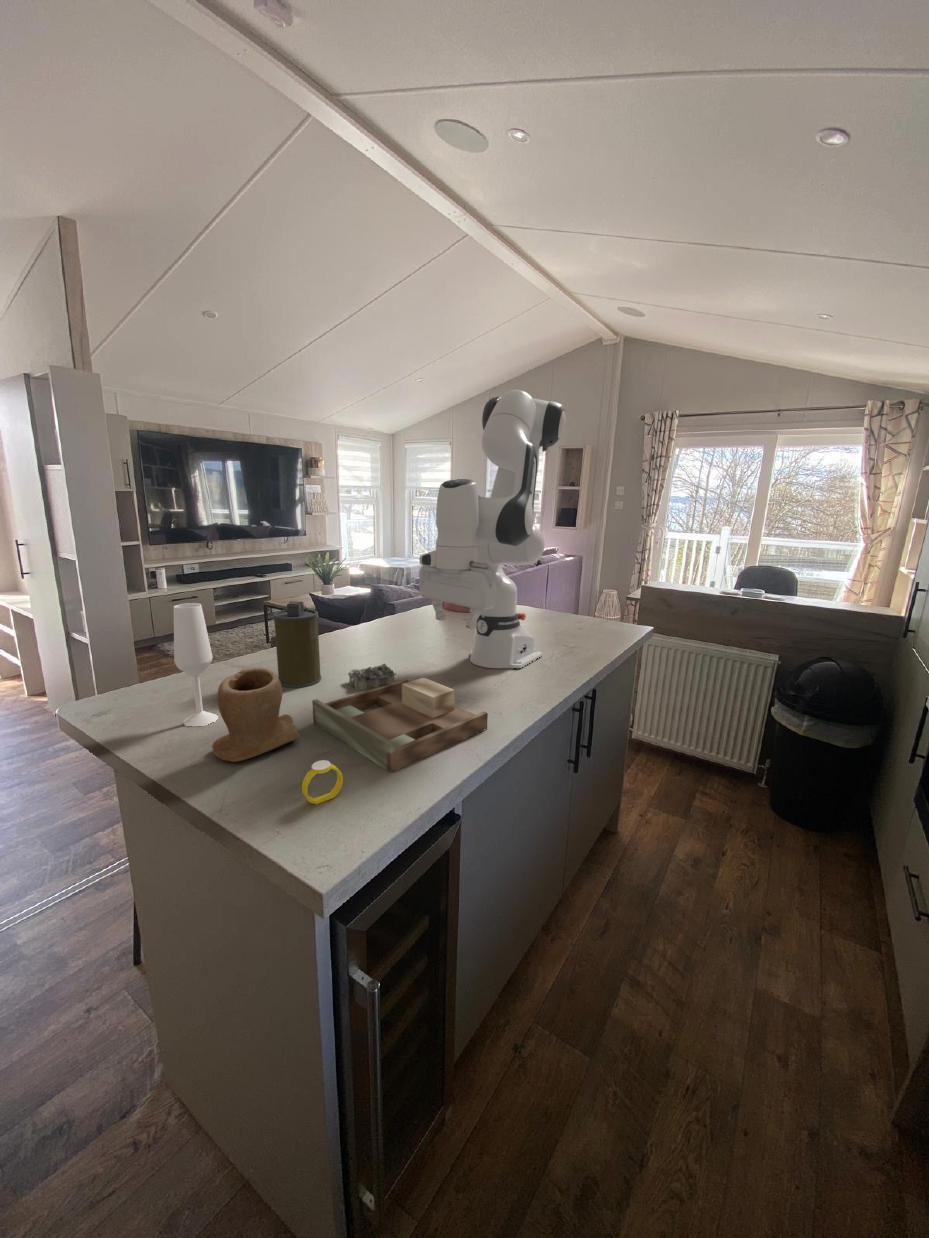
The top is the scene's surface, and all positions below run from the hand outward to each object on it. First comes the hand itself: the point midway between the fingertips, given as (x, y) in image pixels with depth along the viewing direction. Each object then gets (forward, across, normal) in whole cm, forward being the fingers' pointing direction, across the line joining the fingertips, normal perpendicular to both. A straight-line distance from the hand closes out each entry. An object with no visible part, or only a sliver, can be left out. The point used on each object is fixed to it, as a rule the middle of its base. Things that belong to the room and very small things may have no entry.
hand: (455, 623), depth 107 cm
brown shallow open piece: (+19, 0, +15) cm, 24 cm away
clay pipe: (+19, +10, +39) cm, 45 cm away
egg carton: (+19, +24, +5) cm, 32 cm away
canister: (+19, +38, +17) cm, 46 cm away
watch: (+19, -12, +39) cm, 45 cm away
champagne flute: (+19, +30, +43) cm, 56 cm away
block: (+17, 0, +8) cm, 19 cm away
